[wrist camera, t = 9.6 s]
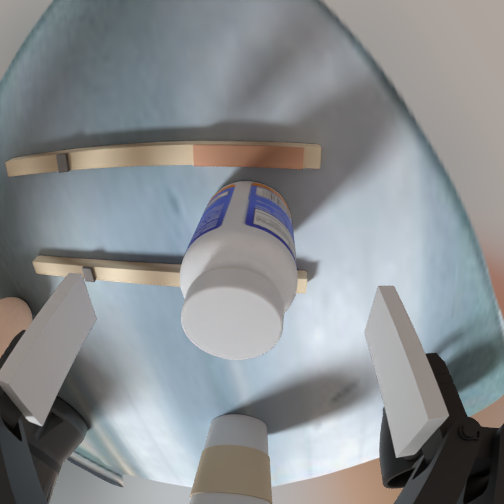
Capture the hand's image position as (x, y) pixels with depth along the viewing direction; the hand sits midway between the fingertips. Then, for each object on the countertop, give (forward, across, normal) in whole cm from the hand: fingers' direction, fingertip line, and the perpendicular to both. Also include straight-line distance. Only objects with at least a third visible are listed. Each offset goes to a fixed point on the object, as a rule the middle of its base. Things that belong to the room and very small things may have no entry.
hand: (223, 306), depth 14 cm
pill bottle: (+8, +1, 0) cm, 8 cm away
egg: (+9, -22, -10) cm, 26 cm away
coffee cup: (+9, 0, -27) cm, 28 cm away
